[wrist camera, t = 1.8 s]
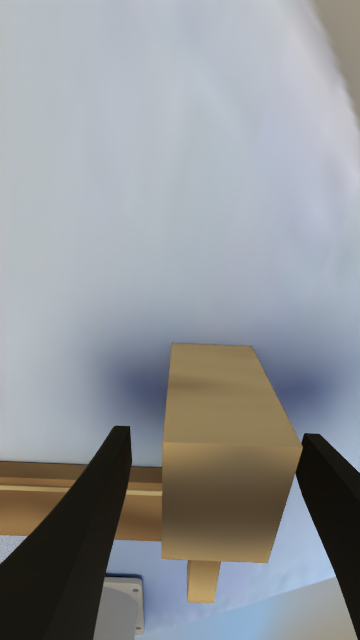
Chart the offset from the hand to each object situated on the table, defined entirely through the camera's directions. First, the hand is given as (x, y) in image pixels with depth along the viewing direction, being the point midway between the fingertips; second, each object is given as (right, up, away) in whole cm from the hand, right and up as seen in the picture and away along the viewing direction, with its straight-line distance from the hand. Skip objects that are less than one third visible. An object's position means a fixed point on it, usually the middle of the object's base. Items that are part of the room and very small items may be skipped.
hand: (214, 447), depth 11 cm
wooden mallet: (0, -2, +5) cm, 5 cm away
